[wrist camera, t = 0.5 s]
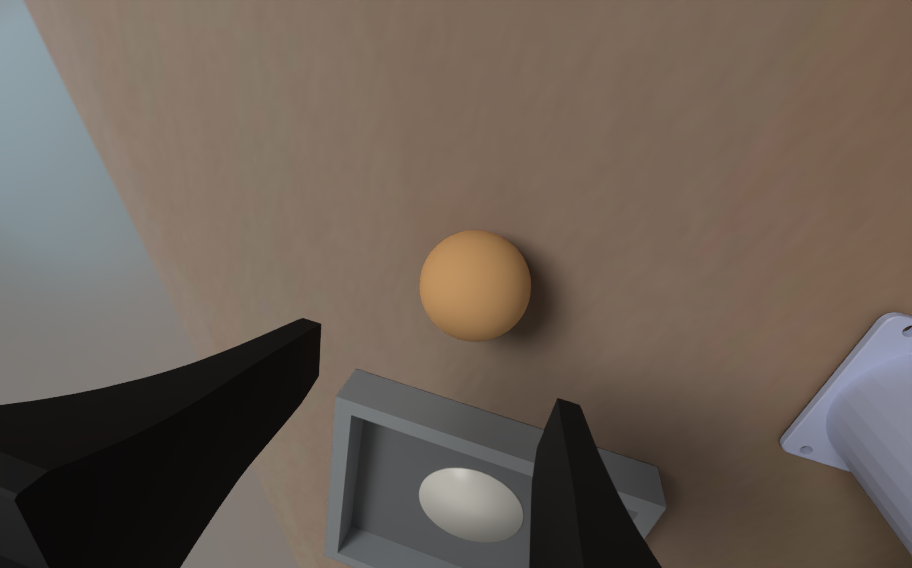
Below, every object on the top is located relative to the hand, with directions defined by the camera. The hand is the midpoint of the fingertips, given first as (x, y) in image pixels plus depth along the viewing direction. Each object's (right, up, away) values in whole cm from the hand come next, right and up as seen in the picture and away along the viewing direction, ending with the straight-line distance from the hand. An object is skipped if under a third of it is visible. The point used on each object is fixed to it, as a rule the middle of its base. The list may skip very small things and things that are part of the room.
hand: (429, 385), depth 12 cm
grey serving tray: (+2, -11, +16) cm, 20 cm away
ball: (+2, +3, +6) cm, 7 cm away
